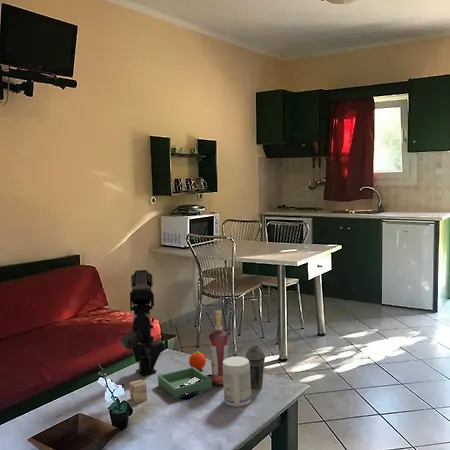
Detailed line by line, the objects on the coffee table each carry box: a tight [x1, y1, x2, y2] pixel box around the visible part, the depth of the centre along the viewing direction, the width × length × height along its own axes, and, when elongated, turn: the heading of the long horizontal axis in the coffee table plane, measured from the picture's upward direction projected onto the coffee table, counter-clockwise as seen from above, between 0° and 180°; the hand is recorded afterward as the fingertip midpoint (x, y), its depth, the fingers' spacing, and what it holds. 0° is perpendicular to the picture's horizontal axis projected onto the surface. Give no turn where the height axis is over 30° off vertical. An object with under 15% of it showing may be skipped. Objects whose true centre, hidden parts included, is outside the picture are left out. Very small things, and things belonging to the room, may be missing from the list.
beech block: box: [129, 379, 148, 404], centre depth 184 cm, size 4×4×6 cm
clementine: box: [188, 351, 207, 371], centre depth 211 cm, size 8×7×7 cm
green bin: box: [157, 366, 213, 401], centre depth 193 cm, size 15×15×4 cm
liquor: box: [208, 310, 229, 386], centre depth 195 cm, size 7×7×28 cm
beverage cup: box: [244, 335, 266, 391], centre depth 190 cm, size 7×7×20 cm
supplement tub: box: [222, 356, 252, 408], centre depth 180 cm, size 10×10×15 cm
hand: (144, 365), depth 184 cm, fingers open, 9 cm apart
